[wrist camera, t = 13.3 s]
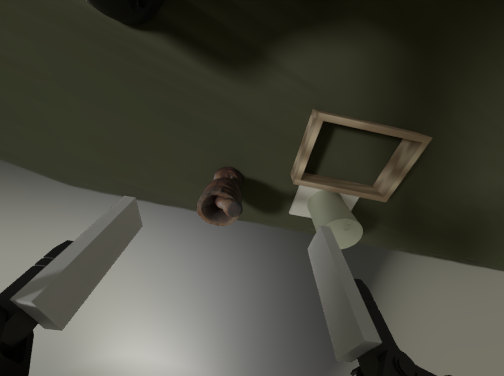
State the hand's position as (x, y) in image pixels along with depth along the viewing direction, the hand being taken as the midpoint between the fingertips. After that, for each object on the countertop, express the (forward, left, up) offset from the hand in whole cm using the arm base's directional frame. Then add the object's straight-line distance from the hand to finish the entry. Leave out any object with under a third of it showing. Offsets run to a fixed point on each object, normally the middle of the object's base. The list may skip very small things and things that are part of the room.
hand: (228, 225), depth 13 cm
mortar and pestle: (+12, -3, -31) cm, 34 cm away
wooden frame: (+1, +23, -31) cm, 39 cm away
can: (+15, +23, -31) cm, 41 cm away
